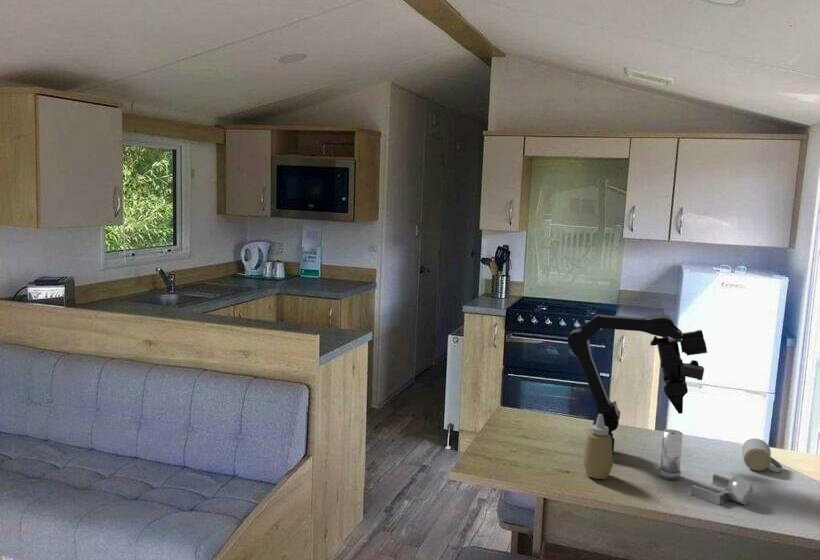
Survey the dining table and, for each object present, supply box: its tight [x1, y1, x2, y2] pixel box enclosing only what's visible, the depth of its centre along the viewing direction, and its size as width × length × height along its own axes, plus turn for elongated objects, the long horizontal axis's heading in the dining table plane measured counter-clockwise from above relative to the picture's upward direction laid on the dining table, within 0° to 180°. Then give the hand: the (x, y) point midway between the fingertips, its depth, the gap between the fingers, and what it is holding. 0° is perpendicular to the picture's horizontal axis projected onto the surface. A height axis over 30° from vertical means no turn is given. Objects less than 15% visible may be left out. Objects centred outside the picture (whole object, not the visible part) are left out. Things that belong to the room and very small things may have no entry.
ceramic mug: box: [741, 437, 783, 473], centre depth 199 cm, size 11×8×8 cm
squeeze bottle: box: [582, 414, 614, 480], centre depth 190 cm, size 8×8×18 cm
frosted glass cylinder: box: [658, 428, 683, 482], centre depth 191 cm, size 6×6×13 cm
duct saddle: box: [690, 473, 754, 506], centre depth 180 cm, size 12×13×6 cm
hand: (680, 408), depth 201 cm, fingers open, 9 cm apart
